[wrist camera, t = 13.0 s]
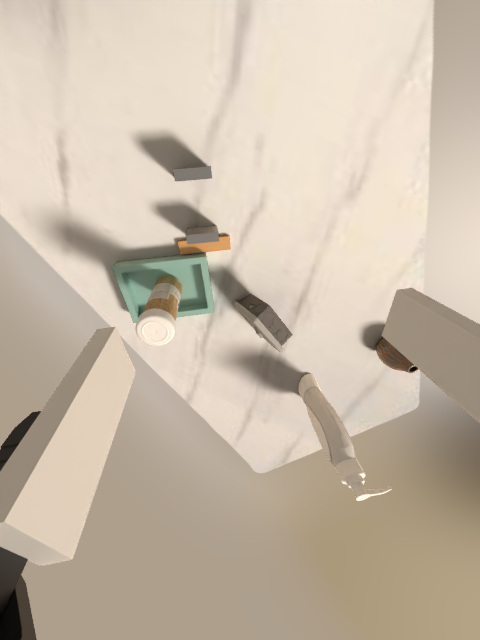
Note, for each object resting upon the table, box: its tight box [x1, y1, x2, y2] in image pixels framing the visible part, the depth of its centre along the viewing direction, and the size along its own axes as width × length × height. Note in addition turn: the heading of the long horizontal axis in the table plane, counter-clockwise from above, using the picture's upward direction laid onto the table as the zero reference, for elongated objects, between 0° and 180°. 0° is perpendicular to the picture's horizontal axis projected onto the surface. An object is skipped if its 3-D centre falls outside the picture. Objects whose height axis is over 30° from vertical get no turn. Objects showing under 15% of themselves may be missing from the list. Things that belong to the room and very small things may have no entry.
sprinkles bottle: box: [136, 275, 182, 346], centre depth 33 cm, size 5×5×13 cm
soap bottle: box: [298, 374, 392, 501], centre depth 49 cm, size 13×8×24 cm, turn 12°
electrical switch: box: [233, 294, 292, 352], centre depth 40 cm, size 9×5×9 cm, turn 36°
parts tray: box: [112, 252, 214, 323], centre depth 38 cm, size 10×14×2 cm
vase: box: [377, 338, 418, 373], centre depth 50 cm, size 7×7×9 cm
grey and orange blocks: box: [173, 166, 230, 255], centre depth 32 cm, size 11×8×5 cm
